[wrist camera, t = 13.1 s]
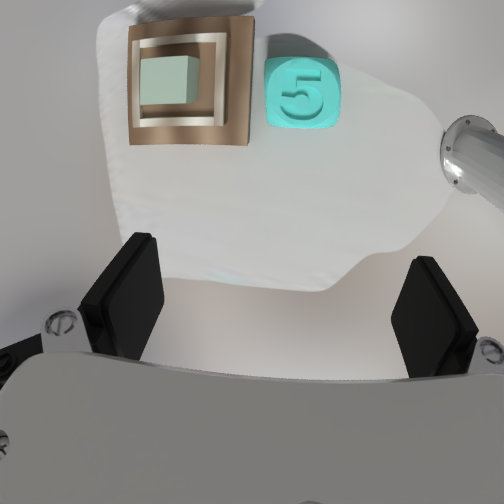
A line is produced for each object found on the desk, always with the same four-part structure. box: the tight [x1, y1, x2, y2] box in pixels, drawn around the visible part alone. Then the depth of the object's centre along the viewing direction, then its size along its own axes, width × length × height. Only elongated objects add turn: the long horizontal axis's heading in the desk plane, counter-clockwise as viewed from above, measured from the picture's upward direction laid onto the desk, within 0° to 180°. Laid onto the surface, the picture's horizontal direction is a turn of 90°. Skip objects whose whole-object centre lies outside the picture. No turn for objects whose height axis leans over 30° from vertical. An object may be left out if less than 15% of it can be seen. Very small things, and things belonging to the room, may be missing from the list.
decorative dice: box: [265, 57, 341, 128], centre depth 32 cm, size 8×8×8 cm
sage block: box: [140, 56, 200, 105], centre depth 28 cm, size 5×5×5 cm
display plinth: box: [127, 16, 255, 146], centre depth 32 cm, size 16×17×7 cm
